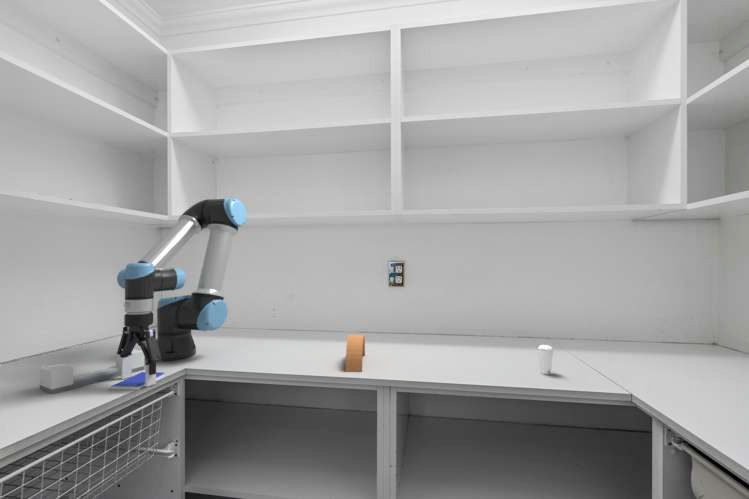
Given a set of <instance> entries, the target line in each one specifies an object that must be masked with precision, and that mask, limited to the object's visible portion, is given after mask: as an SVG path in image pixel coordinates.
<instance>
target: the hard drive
mask: <svg viewBox="0 0 749 499" xmlns="http://www.w3.org/2000/svg"><path fill="white" fill-rule="evenodd" d="M164 376H165V372H163V371H162V372H158V371H156V381H158V380H159V379H160V378H162V377H164ZM143 387H146V386H145V371H142V372H138V373H137V374H134V375H133V376H132V377H129V378H125V379H124V380H123V379H122V380H121V381H119V382H117V383H114V384H113V385H111V386H110V390H140V389H142V388H143Z"/></svg>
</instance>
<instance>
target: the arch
mask: <svg viewBox="0 0 749 499" xmlns="http://www.w3.org/2000/svg"><path fill="white" fill-rule="evenodd" d="M365 356H366V342H365V334H348V335H347V338H346V350H345V372H347V373H348V372H349V373H351V372H354V373H355V372H357V373H358V372H359V373H361V372H363V357H365Z"/></svg>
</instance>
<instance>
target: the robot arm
mask: <svg viewBox="0 0 749 499" xmlns="http://www.w3.org/2000/svg"><path fill="white" fill-rule="evenodd" d="M247 217H248V216H247V210H246V207H245V206H244V204H243V202H242V201H241V200H240V199H237V198H231V197H226V198H217V199H216V198H214V199H211V198H210V199H203V200H201V201H198V202H196V203H195V204H193V205H192V206H190V207H189V208H188V209H186V210H185V211H184V212H183V213H182V214H180V216H178V220H177V221H178V222H177V223H176V224H175V225H173V227H172V228H171V229H169V231H167V233H166V234H165V235H164V236H162V238H160V240H158V242H156V243H155V245H154V246H152V248H150V250H148V251H147V252H146V253H145V255H144V256H142V258H140V260H138V261H137V262H131V263H130V262H129V263H127V264H126V265H125V268H123V269H121V270H120V271H119V272H118V274H117V276H116V282H117V284H118V285H119V287H120V288H121V289H124V303H123V306H124V313H126V314H125V315H123V316H124V320H123V321H124V326H123V327H122V334H121V338H120V341H119V345H118V348H117V351H116V352H117V354H118V355H119V354H120V357H122V358H121V376H120V379H121V380H123V379H124V380H126V379H128V378H130V377H132V374H133V373H132V356H130V355H131V354H132V353H131V352H132V350H133V349H135V347H136V345H137V346H139V347H140V348H141V349H140V350H141V351H143V353H144V356H145V360H146V362H145V363H144V372H145V386H144V387H145V388H146V387H150V386H153V385H156V384H157V380H156V372H157V363H159V362H162V361H175V360H180V359H186V358H190V357H192V356H195V355H196V353H197V346H196V344H195V341H194V338H193V335H192V331H201V332H207V331H209V332H210V331H211V332H212V331H216V330H218V329H219V328H221V326H222V325H224V323H225V321H226V319H227V317H228V312H229V309H228V305H227V303H226V301H225V300H224V299H225V296H224V295H223V294H222V288H223V285H224V284H223V283H224V279H225V273H226V270H227V266H228V265H227V264H228V261H229V260H228V259H229V256H230V255H229V254H230V250H231V245H232V241H233V236H235V235H237V234H238V230H239V227H243V226H244V225H245V224H246V223H247ZM204 229H208V230H209V237H208V241H207V244H206V249H205V254H204V258H203V263H202V267H201V270H200V276H199V279H198V283H197V288H196V289H195V290H194V291H192V292H191V294H187V295H178V296H172V297H171V296H170V297H164V298H160V299H159V300H158V301H157V308H156V317H157V318H156V320H157V321H156V322H157V323H156V325H157V327H156V328H157V332H156V330H155V329H149V328H150V327H149V326H150V325H153V323H154V312H153V311H154V297H155V296H154V295H155V293H156V292H166V291H168V292H169V291H176V290H180V289H183V287H184V286H185V284H186V281H187V277H186V276H187V275H186V273H185V271H183V269H182V268H178V267H177V268H175V267H169V268H165V267H166V266H167V265H168V264H169V262H170V261H171V260H172V259H173V258H174V257H175V256H176V255H177V254H178V252H179V251H180V250H182V248H183V247H184V246H185V245H186V244H187V242H189V241H190V240H191V238H192V237H193V236H194V235H197V234H200V233H201V231H203V230H204ZM156 333H157V334H156ZM156 335H157V336H156ZM128 356H129V357H128Z"/></svg>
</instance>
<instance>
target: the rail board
mask: <svg viewBox="0 0 749 499" xmlns="http://www.w3.org/2000/svg"><path fill="white" fill-rule="evenodd" d="M131 353H132V354H131V355H130V356H132V374H133V373H136V372H140V371H143V370H144V371H145V360H146V358H145V356H144V353H143V351H142V349H135V348H134V349H133V350H132V352H131ZM128 357H129V356H128ZM121 358H122V357H120V354H119V355H118V354H117V351H116V352H115V365H113V366H109V367H104V368H100V369H97V370H91V371H88V372H84V373H79V374H76V375H74V366H71V365H67V364H66V363H62V362H61V363H56V364H52V365H47V366H41V367H40V368H39V370H40V371H39V389H40V390H41V391H44V392H46V393H48V394H51V395H53V394H57V393H60V392H64V391H67V390H72V389H77V388H80V387H84V386H88V385H91V384H94V383H98V382H102V381H105V380H110V379H114V378H117V377H121Z"/></svg>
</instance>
